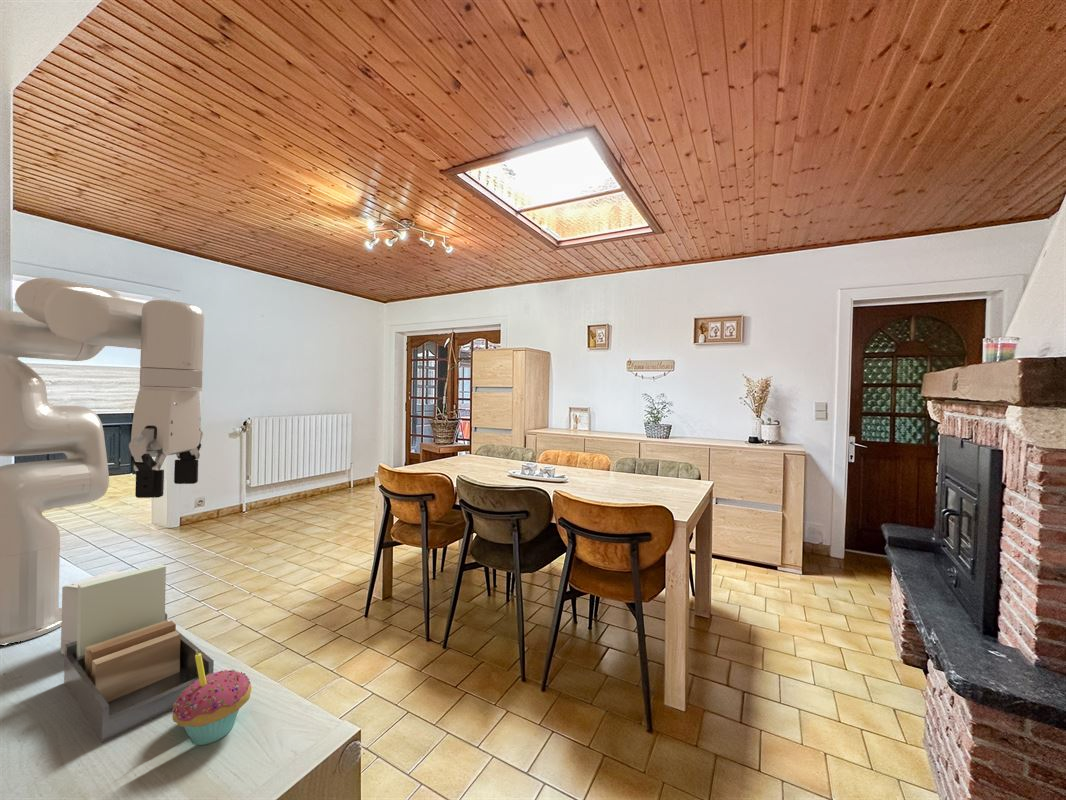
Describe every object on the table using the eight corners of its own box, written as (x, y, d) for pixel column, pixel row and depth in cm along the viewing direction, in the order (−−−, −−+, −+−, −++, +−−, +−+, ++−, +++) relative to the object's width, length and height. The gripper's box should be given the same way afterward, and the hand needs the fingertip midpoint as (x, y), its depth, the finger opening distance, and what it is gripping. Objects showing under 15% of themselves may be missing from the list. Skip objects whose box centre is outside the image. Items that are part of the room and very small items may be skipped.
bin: (63, 690, 65) (64, 644, 65) (164, 652, 75) (164, 612, 75) (101, 752, 54) (102, 696, 54) (212, 697, 64) (213, 651, 64)
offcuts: (84, 691, 63) (85, 644, 63) (166, 659, 71) (167, 617, 71) (95, 707, 60) (96, 657, 60) (179, 671, 68) (180, 627, 68)
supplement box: (92, 667, 71) (94, 590, 71) (58, 660, 72) (60, 585, 72) (141, 642, 78) (143, 573, 78) (109, 637, 80) (111, 569, 80)
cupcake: (187, 768, 52) (189, 670, 52) (160, 737, 57) (161, 647, 57) (262, 723, 59) (264, 637, 59) (233, 699, 64) (234, 619, 64)
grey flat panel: (76, 682, 65) (77, 584, 65) (159, 651, 74) (161, 563, 73) (79, 687, 64) (81, 587, 64) (164, 655, 72) (165, 566, 72)
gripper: (175, 381, 75) (172, 479, 75) (102, 378, 58) (99, 504, 58) (224, 383, 77) (221, 478, 77) (167, 380, 60) (164, 503, 60)
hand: (169, 489), depth 68 cm, fingers open, 9 cm apart
